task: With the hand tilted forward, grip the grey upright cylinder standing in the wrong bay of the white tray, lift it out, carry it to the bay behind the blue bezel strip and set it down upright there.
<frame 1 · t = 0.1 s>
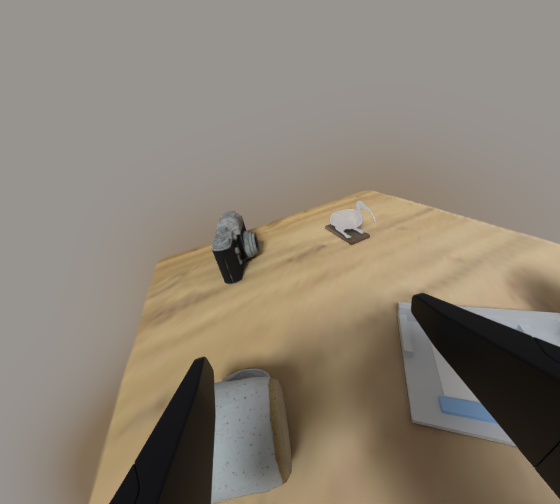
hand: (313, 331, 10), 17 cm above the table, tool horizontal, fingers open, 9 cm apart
figurine: (352, 237, 49), on the table
ceramic mug: (245, 434, 22), on the table
white tray: (548, 380, 20), on the table
camera: (244, 261, 48), on the table
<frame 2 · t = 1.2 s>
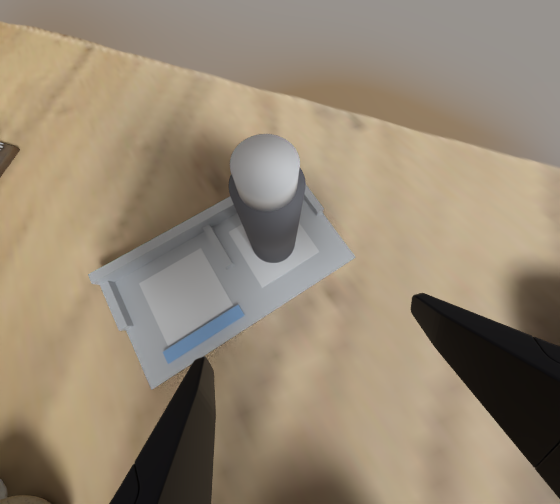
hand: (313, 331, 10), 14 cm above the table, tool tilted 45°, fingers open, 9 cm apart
grey upright cylinder: (273, 241, 24), point 1 cm above the table, touching white tray
white tray: (231, 268, 24), on the table
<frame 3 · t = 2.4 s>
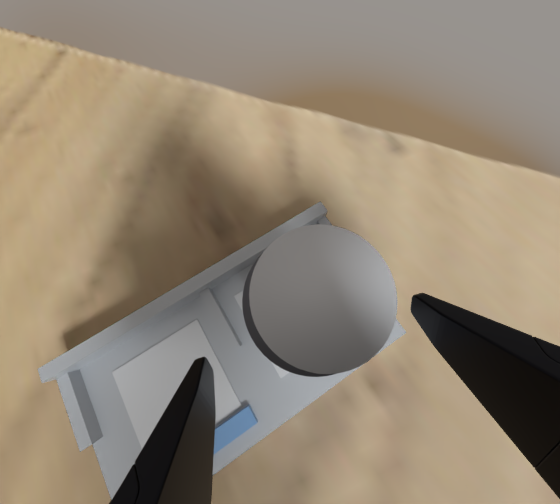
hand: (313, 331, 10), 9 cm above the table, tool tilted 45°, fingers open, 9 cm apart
grey upright cylinder: (294, 310, 18), point 1 cm above the table, touching white tray
white tray: (238, 346, 18), on the table
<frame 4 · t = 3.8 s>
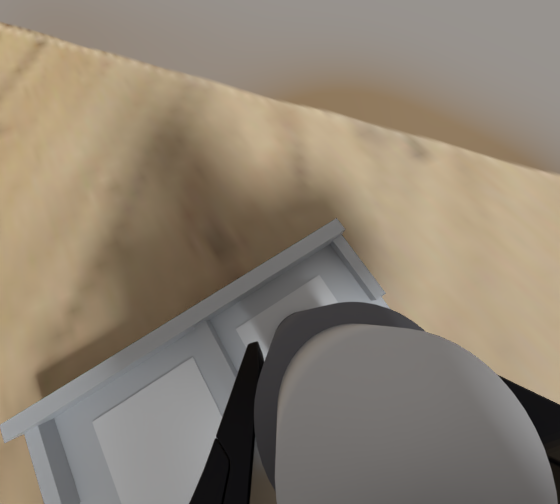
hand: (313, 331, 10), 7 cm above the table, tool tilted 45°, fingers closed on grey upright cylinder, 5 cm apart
grey upright cylinder: (306, 345, 16), point 1 cm above the table, touching white tray, gripper
white tray: (241, 389, 15), on the table
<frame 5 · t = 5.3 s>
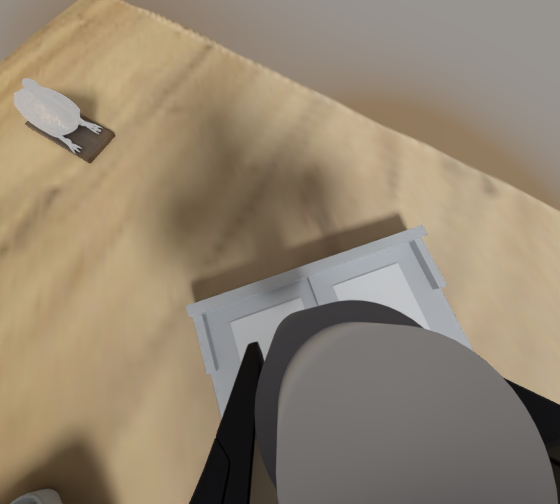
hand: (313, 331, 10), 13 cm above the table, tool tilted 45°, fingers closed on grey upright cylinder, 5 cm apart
figurine: (87, 141, 28), on the table
grey upright cylinder: (306, 345, 16), point 6 cm above the table, touching gripper
white tray: (329, 327, 22), on the table
when the fingers open (8 cm above the table, at t = 6.9 s): grey upright cylinder drops 1 cm, resting on white tray.
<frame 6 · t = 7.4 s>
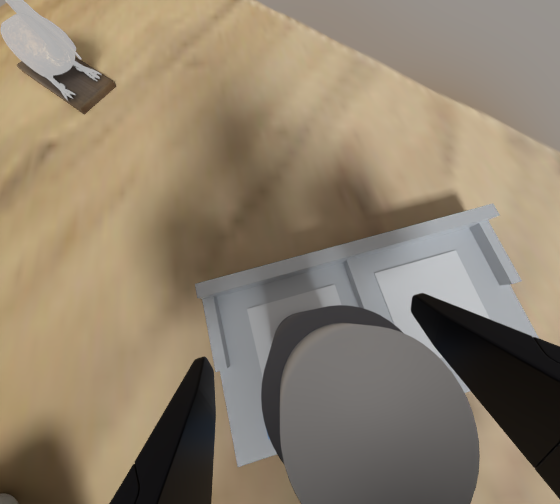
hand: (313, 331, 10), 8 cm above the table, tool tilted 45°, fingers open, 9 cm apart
figurine: (84, 91, 24), on the table
grey upright cylinder: (304, 344, 17), point 1 cm above the table, touching white tray
white tray: (368, 323, 18), on the table
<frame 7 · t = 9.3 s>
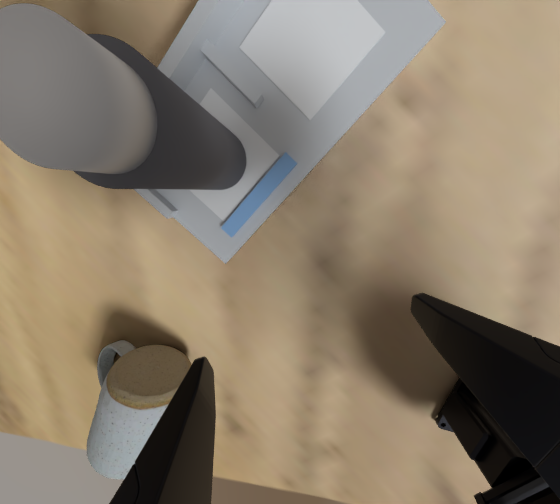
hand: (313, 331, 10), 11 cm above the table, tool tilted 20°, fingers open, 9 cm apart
grey upright cylinder: (217, 159, 18), point 1 cm above the table, touching white tray
ceramic mug: (156, 368, 25), on the table
white tray: (261, 106, 18), on the table
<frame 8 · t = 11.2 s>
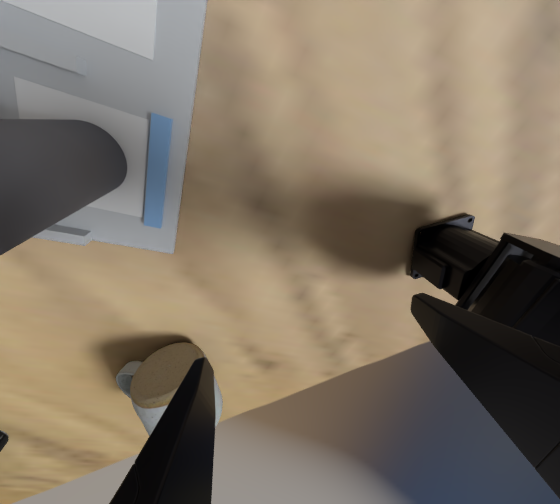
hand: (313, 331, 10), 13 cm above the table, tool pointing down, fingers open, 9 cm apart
grey upright cylinder: (88, 158, 16), point 1 cm above the table, touching white tray
ceramic mug: (174, 364, 27), on the table
white tray: (90, 70, 14), on the table
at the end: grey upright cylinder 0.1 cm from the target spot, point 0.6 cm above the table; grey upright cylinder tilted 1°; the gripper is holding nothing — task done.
